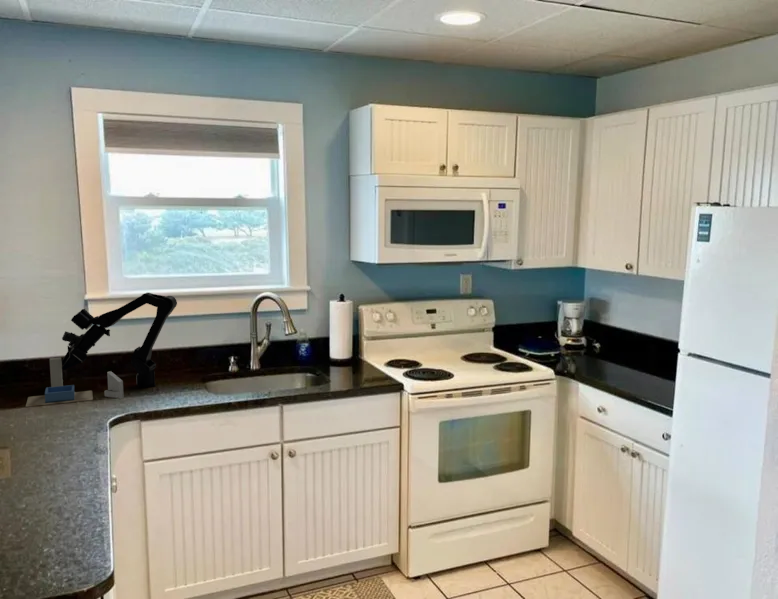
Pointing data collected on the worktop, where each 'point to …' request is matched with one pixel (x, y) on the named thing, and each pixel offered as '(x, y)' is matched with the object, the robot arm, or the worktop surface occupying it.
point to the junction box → (59, 393)
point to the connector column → (56, 372)
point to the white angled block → (114, 386)
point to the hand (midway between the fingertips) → (61, 366)
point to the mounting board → (78, 397)
